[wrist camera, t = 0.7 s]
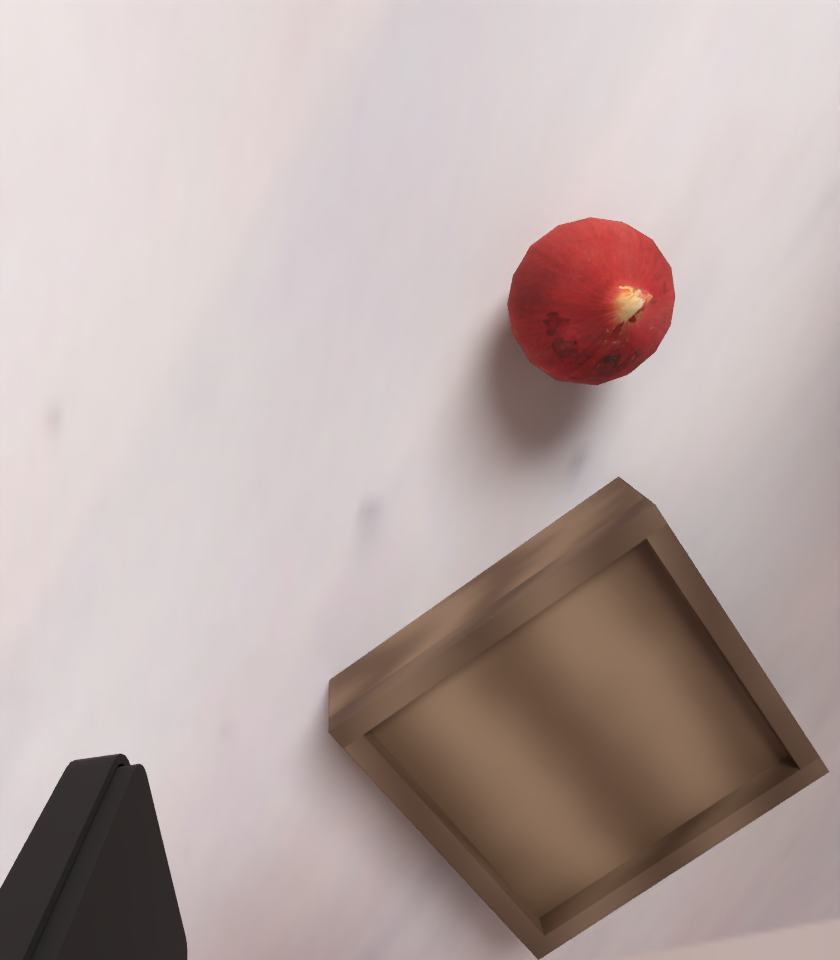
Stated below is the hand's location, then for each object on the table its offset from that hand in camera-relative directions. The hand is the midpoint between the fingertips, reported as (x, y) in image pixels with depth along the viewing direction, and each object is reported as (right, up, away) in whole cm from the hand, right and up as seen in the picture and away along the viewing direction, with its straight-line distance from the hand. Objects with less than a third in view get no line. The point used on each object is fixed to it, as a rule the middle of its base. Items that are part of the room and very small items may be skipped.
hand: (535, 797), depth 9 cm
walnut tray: (+6, -7, +27) cm, 28 cm away
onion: (+4, +11, +22) cm, 25 cm away
